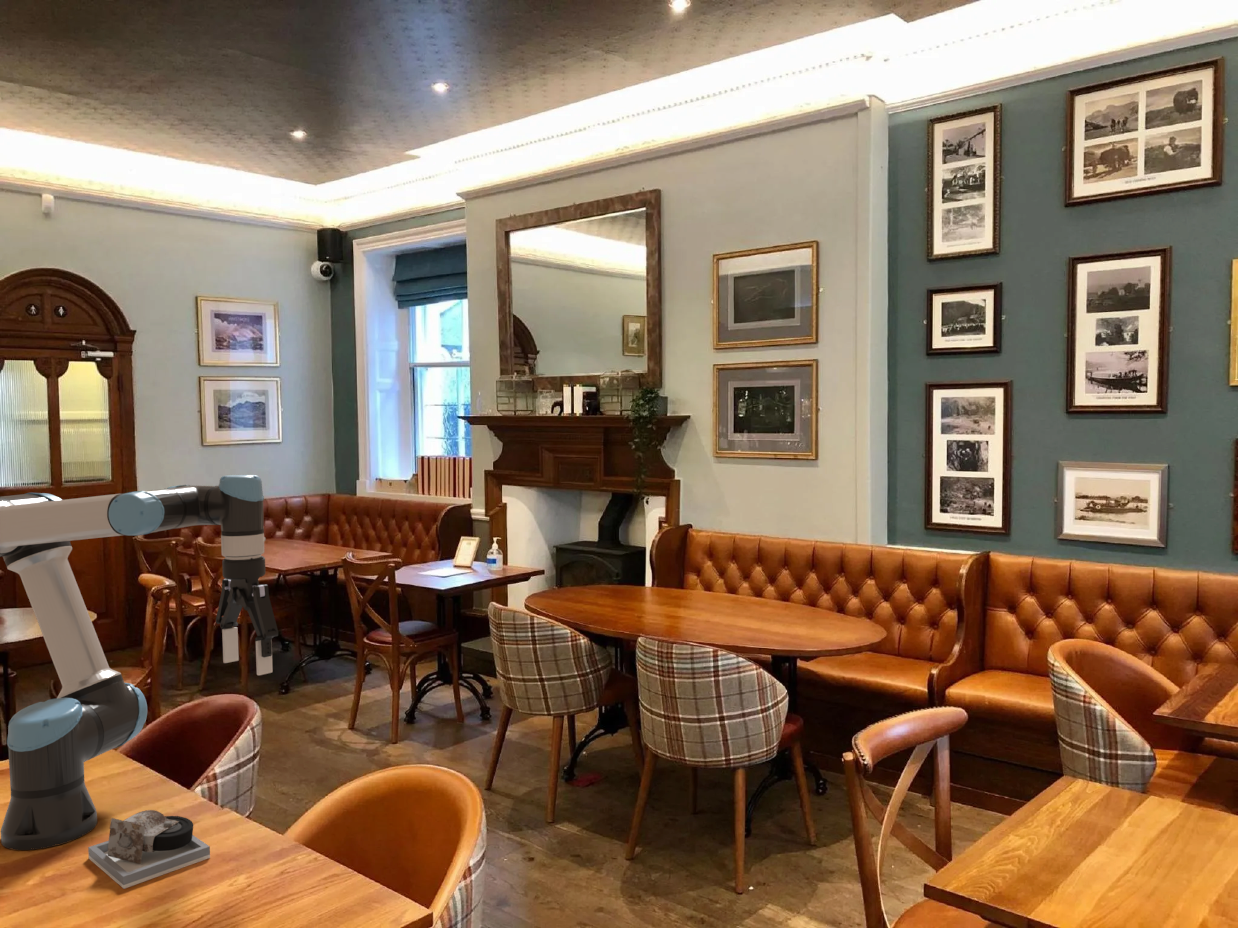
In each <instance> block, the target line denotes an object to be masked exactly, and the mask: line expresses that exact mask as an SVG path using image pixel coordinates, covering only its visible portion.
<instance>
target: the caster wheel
mask: <svg viewBox="0 0 1238 928" xmlns="http://www.w3.org/2000/svg"><path fill="white" fill-rule="evenodd" d="M193 833H194V822H193V821H192V819H190V818H187V817H184V816H178V815H164V814H163V813H162V812H160V811H158V810H156V809H155V810H154V809H148V810H142V811H139V812H137V813H135V814H133V815H131V816H129V817H127V818H126V819H124V820H122V819H117V818H114V817H112V818H111V819H110V827H109V835H108V841H109V843H108V853H107V854H108V856H110V857H114V858H118V859H122V860H126V861H129V862H133V863H137V864H141V860H142V851H144V852H154V851H169V850H174V849H178V848H181V847H183V846H185V845H187V844H188V843H189V842H190V841H191V840H192V835H194V834H193Z"/></svg>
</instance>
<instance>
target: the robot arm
mask: <svg viewBox="0 0 1238 928" xmlns="http://www.w3.org/2000/svg"><path fill="white" fill-rule="evenodd" d="M263 492H264V491H263V481H262V478H261V477H260V476H259V475H256V474H230V475H228V474H227V475H222V476H221V477H220V478H219V483H218V485H191V484H182V485H181V484H179V485H172V486H168V487H167V488H164V489H151V490H136V491H128V492H125V493H115V494H105V495H103V494H102V495H96V496H88V497H87V496H86V497H78V498H69V499H68V498H67V499H62V498H61V497H59V496H56V495H54V494H51V493H45V492H42V493H41V492H27V493H24V494H23V493H22V494H14V495H4V496H2V495H1V496H0V558H1V557H2V558H3V561H4V563H5V565H6V568H7V570H9V571H12V572H13V573H16V574H18V575H19V577H20V579H21V582H22V585H23V588H24V590H25V592H26V595H27V598H28V599H29V600H28V601H29V602H30V606H31V608H32V610H33V614H34V616H35V618H36V620H37V621H36V622H37V624H38V626H39V629H40V632H41V634H42V636H43V639H44V642H45V645H46V648H47V650H48V652H49V655H50V658H51V660H52V663H53V666H54V668H55V671H56V673H57V675H58V678H59V680H60V683H61V686H62V687H61V689H60V691H59V694H58V695H57V697H56V698H50V699H47V700H46V701H38V702H35V703H32V704H31V705H28V706H26V707H24V708H22V709H20V710H18V712H16V713H15V714H13V715H12V717H11V719H10V720H9V721H8V726H7V727H8V728H7V729H8V734H7V738H6V744H7V751H8V752H7V753H8V766H9V767H8V768H9V769H8V770H9V782H10V783H9V785H10V800H9V803H8V807H7V809H6V811H5V815H4V816H5V817H4V819H3V822H2V825H1V829H0V842H1V845H2V846H3V847H5V848H6V849H9V850H16V851H28V850H29V851H33V850H40V849H45V848H50V847H55V846H60V845H62V844H65V843H69V842H71V841H74V840H76V839H78V838H80V837H83V836H84V835H87V834H88V833H90V832H91V831H93V830H94V829H95V828H96V826H97V824H98V815H97V808H96V806H95V803H94V802H93V800H92V797H91V796H90V793H89V790H88V789H87V786H86V783H85V782H86V781H85V762H87V761H89V760H92V759H94V758H96V757H97V756H100V755H103V754H104V753H107V752H109V751H111V750H115V749H117V748H119V747H122V746H124V745H125V744H126V743H127V742H130V740H132V739H134V738H135V737H136V736H138V734H140V733H141V731H142V730H143V728H144V725H145V723H146V720H147V716H148V704H147V699H146V697H145V694H144V693H143V692H142V691H141V689H140V688H138V687H135V685H134V684H133V683H129V682H125V680H124V678H123V675H122V673H121V672H120V671H117V670H114V669H112V668H111V667H110V666H109V663H108V661H107V657H106V655H105V653H104V650H103V647H102V645H101V642H100V640H99V638H98V634H97V632H96V630H95V626H94V624H93V622H92V619H91V617H90V614H89V611H88V609H87V607H86V604H85V601H84V599H83V595H82V594H81V590H80V588H79V586H78V583H77V581H76V577H75V575H74V572H73V570H72V567H71V564H70V562H69V559H68V558H69V556H70V555H71V552H72V551H73V547H72V544H71V541H81V540H88V539H98V538H108V537H109V538H110V537H120V536H129V537H130V536H131V537H132V536H135V537H136V536H143V535H148V534H152V533H158V532H162V531H167V530H173V529H175V530H176V529H180V528H187V527H193V526H220V531H221V535H220V539H221V540H220V541H221V543H220V545H221V556H222V557H224V558H223V560H222V562H221V563H222V576H223V578H222V580H221V592H220V598H219V602H218V608H217V612H216V617H215V623H216V625H219V627H220V629H221V633H222V638H221V639H222V661H223V664H228V663H232V662H238V661H239V660H240V657H239V634H238V632H239V631H238V628H239V627H237V626H239V623H238V619H239V616H240V614H241V612H242V609H243V610H244V611H246V612H247V613H248V616H249V618H250V621H251V623H252V626H253V628H254V631H255V633H256V637H255V638H254V641H255V662H256V663H255V664H256V675H257V676H263V675H267V674H271V673H273V647H272V646H273V644H272V643H273V641H272V639H273V638H274V637H278V636H279V630H278V626H277V622H276V617H275V614H274V609H273V606H272V602H271V599H270V593H269V585H268V584H260V583H259V579H260V578H262V577H263V576H265V574H266V557H264V556H263V555H264V554H265V542H266V539H267V538H266V537H265V528H264V499H265V496H264V493H263Z"/></svg>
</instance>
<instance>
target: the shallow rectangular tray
mask: <svg viewBox="0 0 1238 928" xmlns="http://www.w3.org/2000/svg"><path fill="white" fill-rule="evenodd" d="M108 843H109V840H106V841H103V842H100V843H97V844H94V845H93V844H92V845H90V846H88V847H87V848H88V851H87V852H88V859H89V860H90V861H91V862H92V863H93V864H94V865H96V866H97V867H98V868H99V869H100V870H101V871H103V872H104V873H105V874H106V875H107V876H108V877H109V878H110V879H112V880H113V881H114V882H115V883H116V884H118V885H119V886H120V887H121V888H122V889H127V888H131V887H133V886H136V885H138V884H142V883H143V882H147V881H149V880H152V879H154V878H157V877H161V876H164V875H165V874H169V873H172V872H174V871H177V870H180V869H182V868H185V867H188V866H191V865H193V864H196V863H199V862H202V861H205V860H207V859H208V860H209V859H210V858H211V847H210V845H209V844H207V843H205V842H204V841H202V840H201V839H200V838H198V837H196V836H195V835H194V834H193V835H192V840H191V841H190V842H189V843H188V844H187V845H185V846H183V847H181V848H178V849H174V850H169V851H154V852H144V851H142V860H141V864H137V863H133V862H129V861H126V860H122V859H118V858H114V857H110V856H108V854H107V853H108Z"/></svg>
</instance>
